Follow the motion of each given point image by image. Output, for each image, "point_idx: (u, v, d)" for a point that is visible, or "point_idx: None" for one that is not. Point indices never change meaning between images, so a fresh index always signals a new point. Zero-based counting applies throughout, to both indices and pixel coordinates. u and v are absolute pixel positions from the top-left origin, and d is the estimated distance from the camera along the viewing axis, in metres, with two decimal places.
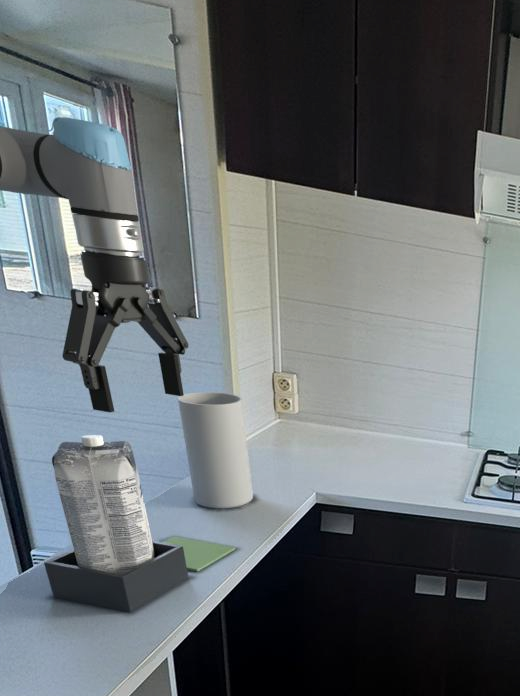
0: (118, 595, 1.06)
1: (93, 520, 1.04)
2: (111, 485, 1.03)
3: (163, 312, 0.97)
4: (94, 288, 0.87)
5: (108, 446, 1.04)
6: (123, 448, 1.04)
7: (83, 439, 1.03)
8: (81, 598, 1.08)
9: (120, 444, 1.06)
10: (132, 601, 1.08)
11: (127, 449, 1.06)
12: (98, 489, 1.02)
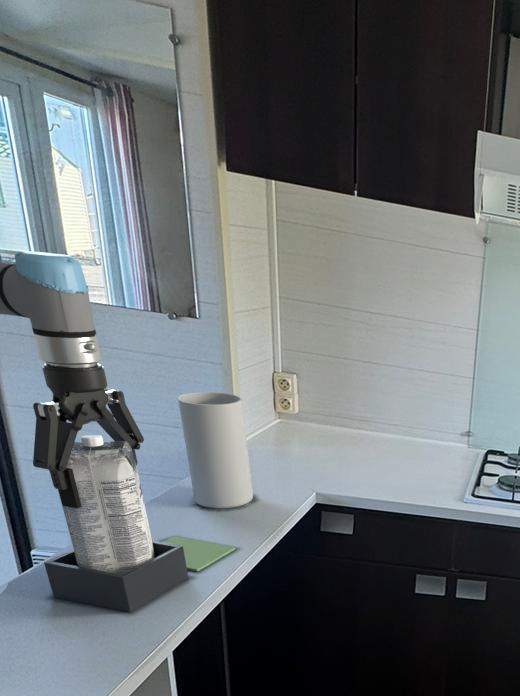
0: (118, 595, 1.06)
1: (93, 520, 1.04)
2: (111, 485, 1.03)
3: (121, 411, 1.06)
4: (55, 397, 0.96)
5: (108, 446, 1.04)
6: (122, 448, 1.04)
7: (83, 439, 1.03)
8: (81, 598, 1.08)
9: (120, 444, 1.06)
10: (132, 601, 1.08)
11: (127, 449, 1.06)
12: (98, 490, 1.02)
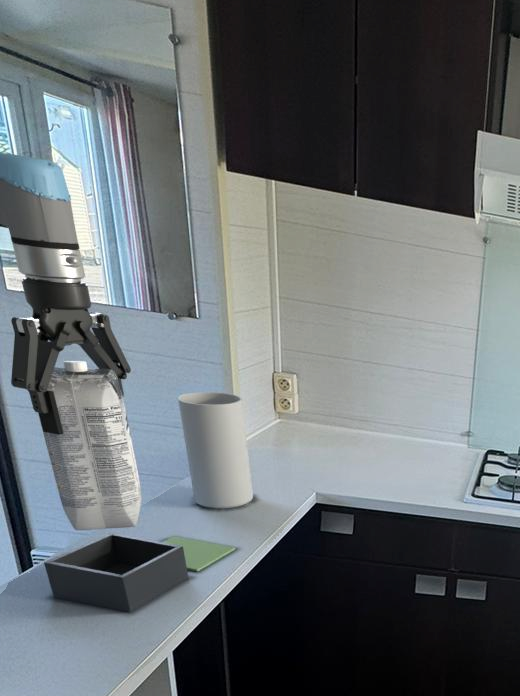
0: (118, 595, 1.06)
1: (75, 449, 0.99)
2: (94, 411, 0.98)
3: (106, 336, 1.01)
4: (35, 313, 0.91)
5: (92, 372, 0.99)
6: (107, 375, 0.99)
7: (65, 363, 0.98)
8: (81, 598, 1.08)
9: (105, 371, 1.01)
10: (132, 601, 1.08)
11: (112, 376, 1.01)
12: (81, 416, 0.97)
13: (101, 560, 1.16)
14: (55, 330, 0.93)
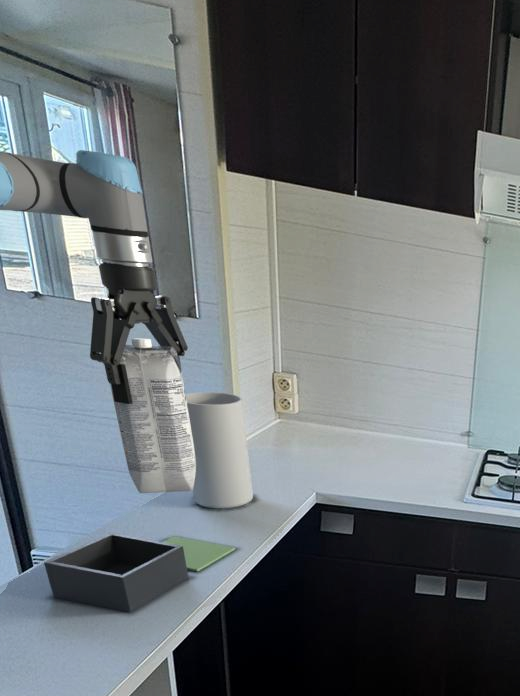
0: (118, 595, 1.06)
1: (142, 418, 1.10)
2: (159, 383, 1.09)
3: (168, 317, 1.12)
4: (110, 294, 1.02)
5: (156, 348, 1.10)
6: (170, 350, 1.10)
7: (133, 340, 1.09)
8: (81, 598, 1.08)
9: (167, 347, 1.11)
10: (132, 601, 1.08)
11: (173, 352, 1.12)
12: (148, 388, 1.08)
13: (101, 560, 1.16)
14: (127, 309, 1.04)
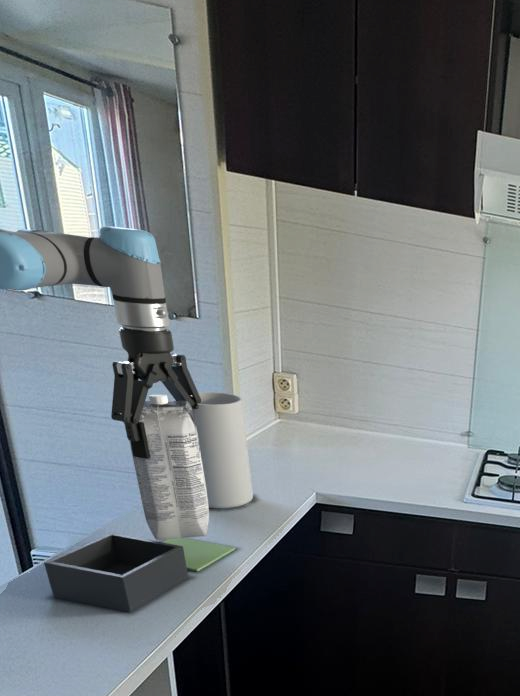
0: (118, 595, 1.06)
1: (159, 470, 1.15)
2: (176, 438, 1.14)
3: (183, 373, 1.18)
4: (130, 357, 1.08)
5: (172, 404, 1.16)
6: (186, 406, 1.16)
7: (151, 397, 1.14)
8: (81, 598, 1.08)
9: (182, 403, 1.17)
10: (132, 601, 1.08)
11: (189, 407, 1.18)
12: (164, 443, 1.14)
13: (101, 560, 1.16)
14: (146, 371, 1.09)
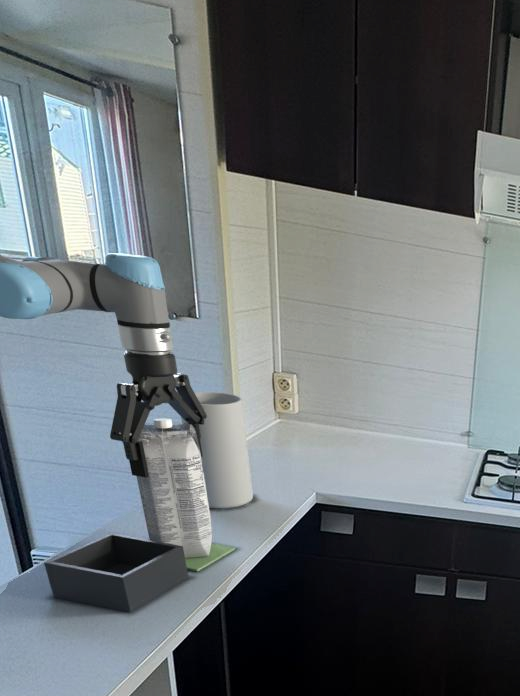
0: (118, 595, 1.06)
1: (163, 493, 1.17)
2: (180, 462, 1.16)
3: (187, 392, 1.20)
4: (134, 381, 1.09)
5: (177, 428, 1.18)
6: (190, 430, 1.18)
7: (155, 422, 1.16)
8: (81, 598, 1.08)
9: (186, 426, 1.19)
10: (132, 601, 1.08)
11: (192, 431, 1.20)
12: (169, 466, 1.16)
13: (101, 560, 1.16)
14: (150, 394, 1.11)
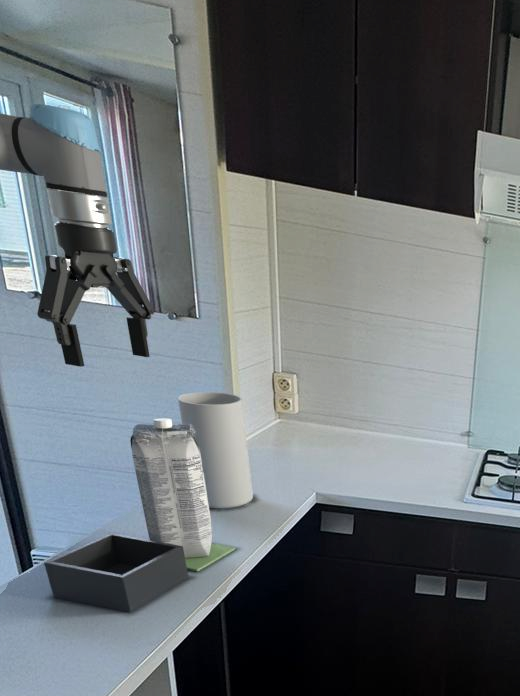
0: (118, 595, 1.06)
1: (163, 493, 1.17)
2: (180, 462, 1.16)
3: (130, 280, 1.09)
4: (66, 255, 0.99)
5: (177, 428, 1.18)
6: (189, 430, 1.18)
7: (155, 422, 1.16)
8: (81, 598, 1.08)
9: (186, 426, 1.19)
10: (132, 601, 1.08)
11: (192, 431, 1.20)
12: (169, 466, 1.16)
13: (101, 560, 1.16)
14: (84, 272, 1.00)
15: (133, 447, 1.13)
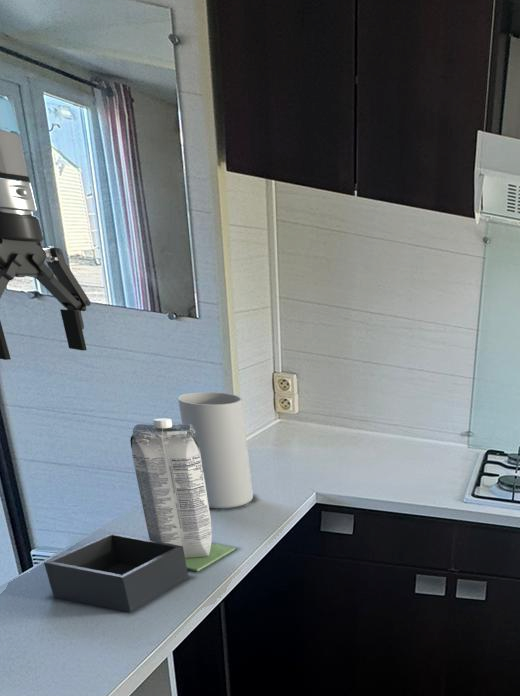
0: (118, 595, 1.06)
1: (163, 493, 1.17)
2: (180, 462, 1.16)
3: (62, 270, 1.05)
4: None
5: (177, 428, 1.18)
6: (189, 430, 1.18)
7: (155, 422, 1.16)
8: (81, 598, 1.08)
9: (186, 426, 1.19)
10: (132, 601, 1.08)
11: (192, 431, 1.20)
12: (169, 466, 1.16)
13: (101, 560, 1.16)
14: (7, 261, 0.96)
15: (133, 447, 1.13)
